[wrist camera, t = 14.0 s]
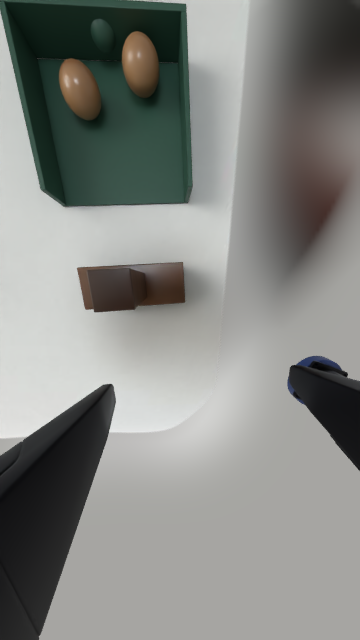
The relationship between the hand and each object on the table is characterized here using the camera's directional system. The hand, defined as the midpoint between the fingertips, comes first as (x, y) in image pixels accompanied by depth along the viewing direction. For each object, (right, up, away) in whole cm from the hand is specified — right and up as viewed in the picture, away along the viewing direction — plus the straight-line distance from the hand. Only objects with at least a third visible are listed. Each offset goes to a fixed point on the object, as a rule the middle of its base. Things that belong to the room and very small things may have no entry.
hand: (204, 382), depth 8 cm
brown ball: (-4, +24, +5) cm, 25 cm away
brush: (-6, +7, +11) cm, 15 cm away
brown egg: (-9, +22, +5) cm, 24 cm away
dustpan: (-7, +25, +7) cm, 27 cm away
